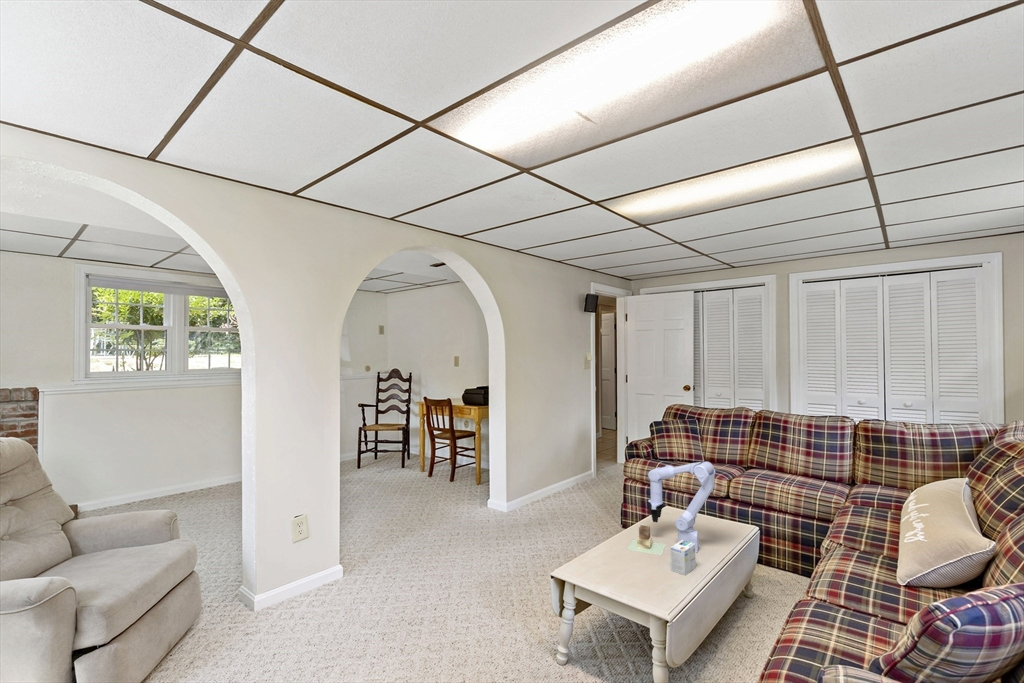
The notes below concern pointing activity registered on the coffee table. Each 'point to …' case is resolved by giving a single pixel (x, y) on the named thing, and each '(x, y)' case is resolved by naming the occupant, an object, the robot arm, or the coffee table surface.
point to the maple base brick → (644, 543)
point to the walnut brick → (644, 532)
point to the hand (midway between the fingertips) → (656, 519)
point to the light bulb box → (683, 557)
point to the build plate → (655, 549)
